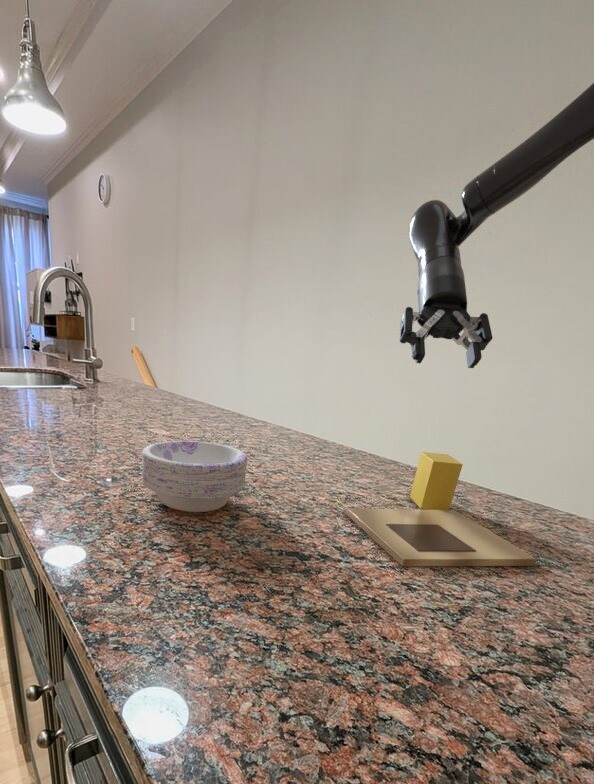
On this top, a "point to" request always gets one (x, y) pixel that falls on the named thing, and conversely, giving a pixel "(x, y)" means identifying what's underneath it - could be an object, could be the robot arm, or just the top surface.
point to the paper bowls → (193, 474)
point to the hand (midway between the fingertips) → (446, 362)
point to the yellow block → (435, 481)
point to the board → (437, 538)
